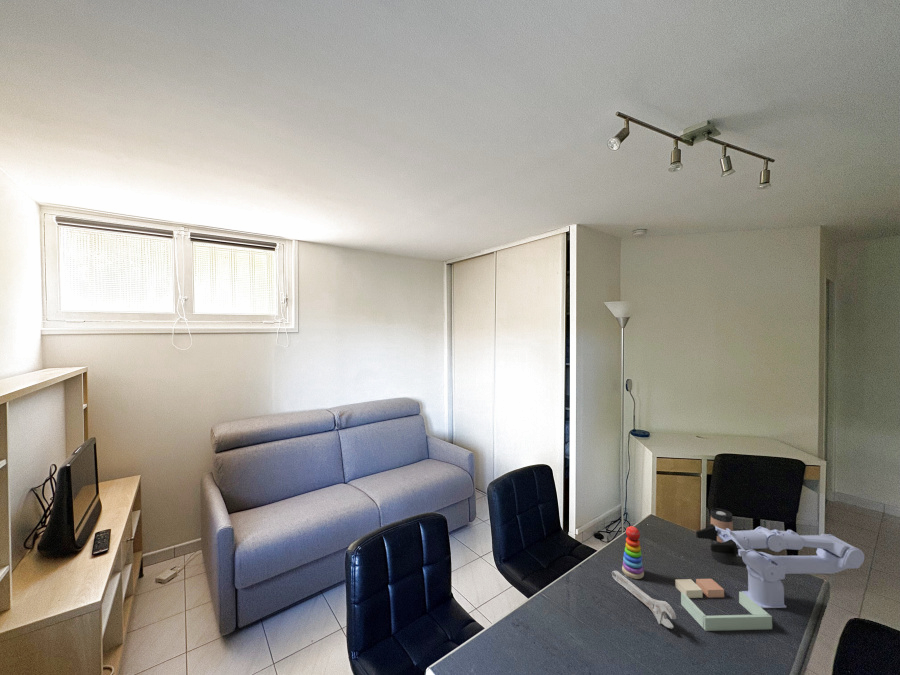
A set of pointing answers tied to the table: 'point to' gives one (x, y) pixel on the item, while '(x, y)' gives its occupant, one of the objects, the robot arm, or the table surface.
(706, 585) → the terracotta tile
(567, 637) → the table surface
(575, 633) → the table surface
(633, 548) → the stacking toy
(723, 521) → the travel mug
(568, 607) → the table surface
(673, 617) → the wrench
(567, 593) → the table surface
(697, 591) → the sand tile
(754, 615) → the box
